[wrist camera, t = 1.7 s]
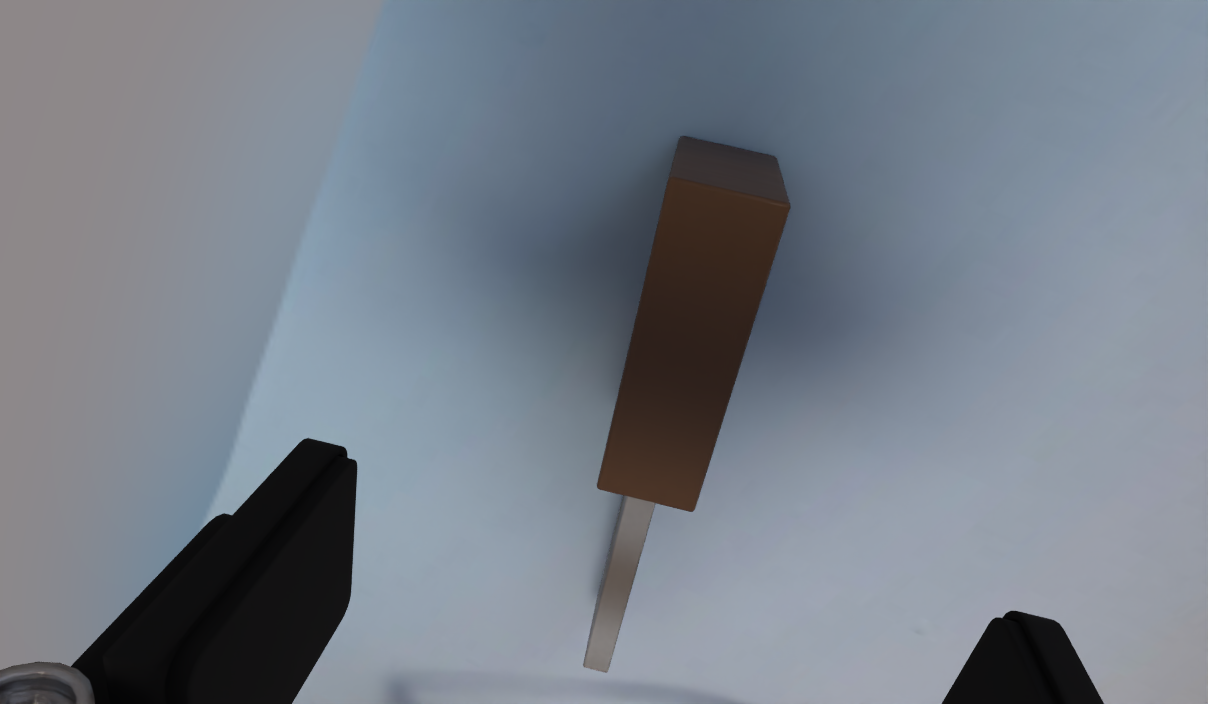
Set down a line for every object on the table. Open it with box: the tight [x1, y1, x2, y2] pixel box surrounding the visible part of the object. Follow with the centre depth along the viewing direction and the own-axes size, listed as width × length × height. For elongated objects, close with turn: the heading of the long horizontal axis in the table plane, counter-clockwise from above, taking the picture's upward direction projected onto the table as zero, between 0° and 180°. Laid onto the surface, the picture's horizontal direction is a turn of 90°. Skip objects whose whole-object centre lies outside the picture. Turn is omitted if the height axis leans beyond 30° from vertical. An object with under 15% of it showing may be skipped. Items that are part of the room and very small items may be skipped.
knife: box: [583, 136, 790, 673], centre depth 20 cm, size 16×2×4 cm, turn 169°
